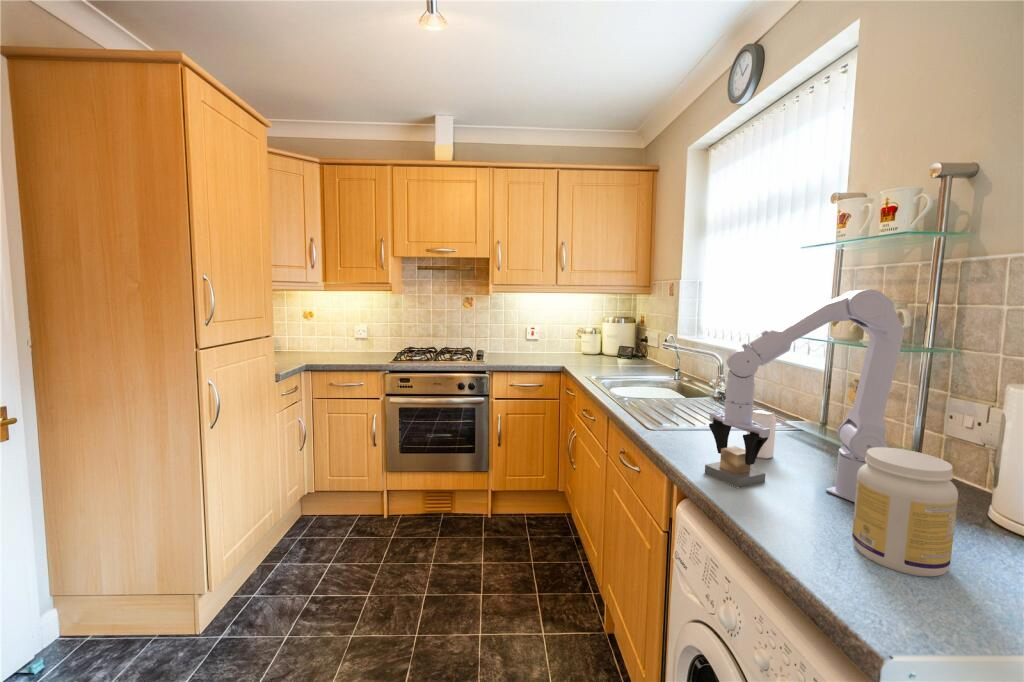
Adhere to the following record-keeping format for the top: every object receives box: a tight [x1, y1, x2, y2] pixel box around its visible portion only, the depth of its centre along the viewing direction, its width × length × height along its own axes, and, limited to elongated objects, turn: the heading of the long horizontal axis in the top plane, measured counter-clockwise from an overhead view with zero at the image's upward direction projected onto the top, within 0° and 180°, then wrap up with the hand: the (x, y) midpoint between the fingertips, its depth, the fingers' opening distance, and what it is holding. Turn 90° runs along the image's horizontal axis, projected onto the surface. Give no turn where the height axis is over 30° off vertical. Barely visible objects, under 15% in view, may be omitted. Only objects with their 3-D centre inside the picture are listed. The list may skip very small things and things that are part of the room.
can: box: [746, 408, 777, 460], centre depth 117 cm, size 6×6×12 cm
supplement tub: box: [851, 447, 959, 578], centre depth 71 cm, size 12×12×17 cm
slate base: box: [704, 461, 766, 488], centre depth 103 cm, size 9×9×2 cm
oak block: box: [719, 445, 751, 474], centre depth 103 cm, size 4×4×4 cm
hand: (735, 458), depth 102 cm, fingers open, 7 cm apart
